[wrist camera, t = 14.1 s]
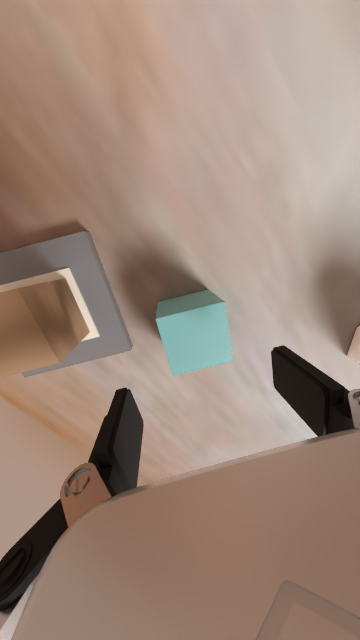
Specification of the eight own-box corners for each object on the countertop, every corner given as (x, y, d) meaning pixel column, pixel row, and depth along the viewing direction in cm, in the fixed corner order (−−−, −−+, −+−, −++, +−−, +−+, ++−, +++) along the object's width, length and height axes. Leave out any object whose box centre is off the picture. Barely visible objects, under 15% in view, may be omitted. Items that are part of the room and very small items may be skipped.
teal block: (157, 301, 20) (155, 318, 15) (208, 289, 20) (224, 301, 15) (170, 346, 22) (172, 376, 17) (216, 334, 22) (233, 361, 17)
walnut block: (6, 292, 17) (-71, 309, 12) (65, 277, 17) (17, 288, 12) (37, 345, 19) (-15, 381, 14) (90, 332, 19) (59, 363, 14)
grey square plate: (-38, 265, 17) (-54, 266, 16) (89, 232, 17) (83, 230, 16) (31, 371, 22) (23, 378, 21) (132, 345, 22) (130, 351, 21)
